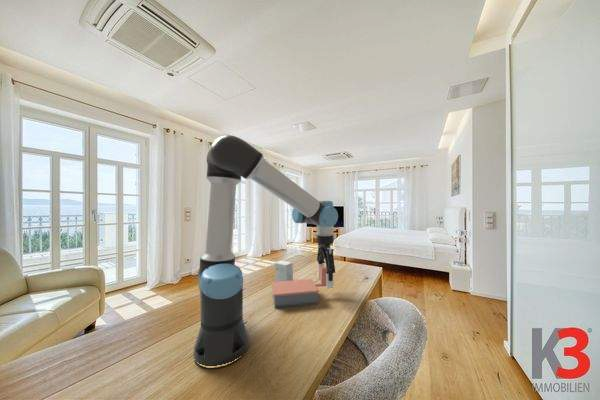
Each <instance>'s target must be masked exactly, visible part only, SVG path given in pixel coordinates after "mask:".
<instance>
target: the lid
mask: <svg viewBox="0 0 600 400" xmlns="http://www.w3.org/2000/svg"><path fill="white" fill-rule="evenodd" d="M326 272H327V267H326V266H324V267H320V278H319V280H320V282H318V283H315V282H314V281H313V279H311V278H307V279H293V280H292V281H279V282H275V281H271V290H272V297H273V296H285V295H295V294H306V293H316V292H317V293H319V292H320V290H319V288H318V287H327V274H326Z"/></svg>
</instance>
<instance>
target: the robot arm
mask: <svg viewBox="0 0 600 400" xmlns="http://www.w3.org/2000/svg"><path fill="white" fill-rule="evenodd" d="M206 164H207V165H206V166H207V169H206V179H207V181H209V183H210V188H209V190H210V191H209V204H208V216H207V229H206V242H205V251H204V253H202V254H201V255H200V257H199V258H200V259H199V266H198V272H197V276H196V277H197V278H196V279H197V283H198V288H199V297H200V298H199V300H200V328H199V330H198V333H197V337H196V339H195V343H194V347H193V360H194V359H195V360H194V362H195V361H196V362H198V363H199V364H202V365H205V366H217V365H222V364H226V363H229V362H232V361H234V360H235V359H237V358H239V357H240V356H242V355H243V354H244V353H245V352H246V353H247V351H248V349H249V345H250V344H249V343H250V339H249V337H250V336H249V333H248V330H247V327H246V324H245V321H244V318H243V317H244V315H243V314H244V312H243V311H244V309H243V308H244V307H243V306H244V293H243V292H244V289H243V288H244V287H243V286H244V285H243V284H244V276H243V271H242V269H241V268H240V267H239V266H237V265H236V264H235V263H236V255H235V253H234V252H233V251H232V247H233V246H232V245H233V235H234V221H235V219H234V218H235V210H236V209H235V207H236V195H237V194H236V193H237V185H238V184H239V183H241V182H242V178H243V179H245V180H248V179H250V180H252V181H253V182H255V183H256V184H258V185H260V186H261V187H262V188H264V189H265V190H267V191H268V192H270V193H271V194H272V195H274V196H275V197H277V198H278V199H280V200H281V201H283V202H284V203H286V204H288V205H289V206H290V207H292V210H291V216H292V217H291V219H292V221H293V222H294V223H295V224H308V225H309V224H310V225H315V226H316V234H317V235H316V243H317V244H318V245H317V247H318V248H317V257H316V261H317V263H318V271H317V272H318V276H317V277H318V279H320V267H327V272H326V274H327V286H326V289H334V274H336V267H335V258H334V249H333V248H331V245H332V244H334V242H335V241H334V240H335V238H334V235H333V234H334V229H335V227H334V226H335V225H336V224H337V222H338V219H339V214H338V211H337V209H336V208H335V207H334V202H333V201H331V200H318V199H317V198H316V197H315V196H314V195H312V194H310V193H309V192H307V190H305V189H304V188H303V187H301V186H300V185H298V184H297V183H296V182H295V181H293V180H292V179H291V178H289V177H288V176H287V175H286V174H284V173H283V172H282V171H280V170H279V169H277V167H275V166H273V165H272V164H271V163H269V162H268V161H266V159H265V158H264V154H263V153H262V152H261V151H259V150H258V149H257V148H255V147H254V146H252V145H251V144H249V142H247V141H245V140H243V139H242V138H240V137H237V136H235V135H230V134H228V135H222V136H220V137H218V138H216V139H215V140H214V142H213V143H212V144H211V146H210V149H209V150H208V151H207V156H206ZM246 353H245V354H246ZM245 354H244V355H245ZM244 355H243V356H244ZM243 356H242V357H243ZM196 362H195V363H196Z"/></svg>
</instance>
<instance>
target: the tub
mask: <svg viewBox="0 0 600 400" xmlns="http://www.w3.org/2000/svg"><path fill="white" fill-rule="evenodd" d="M272 299H273V307H274V309H278V308H279V309H280V308H289V307H298V306H309V305H316V304H317V305H318V292H316V293H306V294H295V295H285V296H273V295H272Z"/></svg>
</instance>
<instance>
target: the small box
mask: <svg viewBox="0 0 600 400" xmlns="http://www.w3.org/2000/svg"><path fill="white" fill-rule="evenodd" d="M293 271H294V269H293V262H292V261H285V260H278V261H276V262H274V282H279V281H292V280H294V275H293V274H294V273H293Z"/></svg>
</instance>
